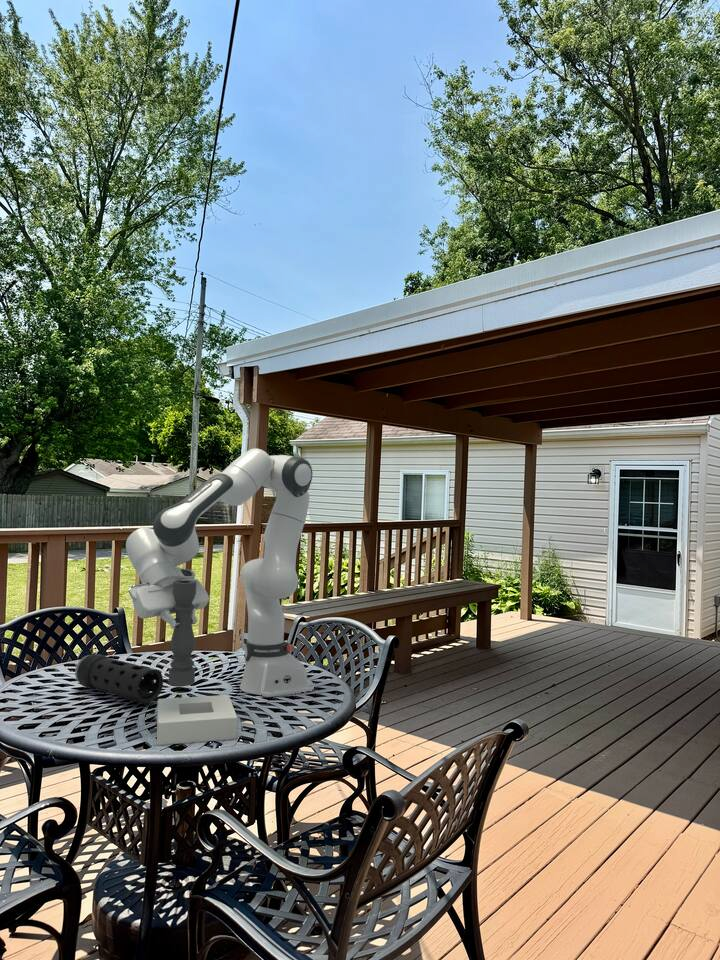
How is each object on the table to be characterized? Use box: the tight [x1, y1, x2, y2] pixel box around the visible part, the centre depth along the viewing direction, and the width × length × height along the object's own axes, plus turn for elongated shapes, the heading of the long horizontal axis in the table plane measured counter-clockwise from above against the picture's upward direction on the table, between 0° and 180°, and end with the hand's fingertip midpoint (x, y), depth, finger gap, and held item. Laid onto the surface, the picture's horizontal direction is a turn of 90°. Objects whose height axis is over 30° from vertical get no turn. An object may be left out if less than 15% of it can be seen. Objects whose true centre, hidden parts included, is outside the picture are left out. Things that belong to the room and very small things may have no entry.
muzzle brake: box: [74, 653, 164, 706], centre depth 175 cm, size 10×28×10 cm, turn 58°
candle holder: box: [168, 580, 196, 688], centre depth 153 cm, size 6×6×25 cm
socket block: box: [156, 694, 238, 746], centre depth 152 cm, size 18×18×5 cm
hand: (185, 624), depth 153 cm, fingers closed on candle holder, 4 cm apart
